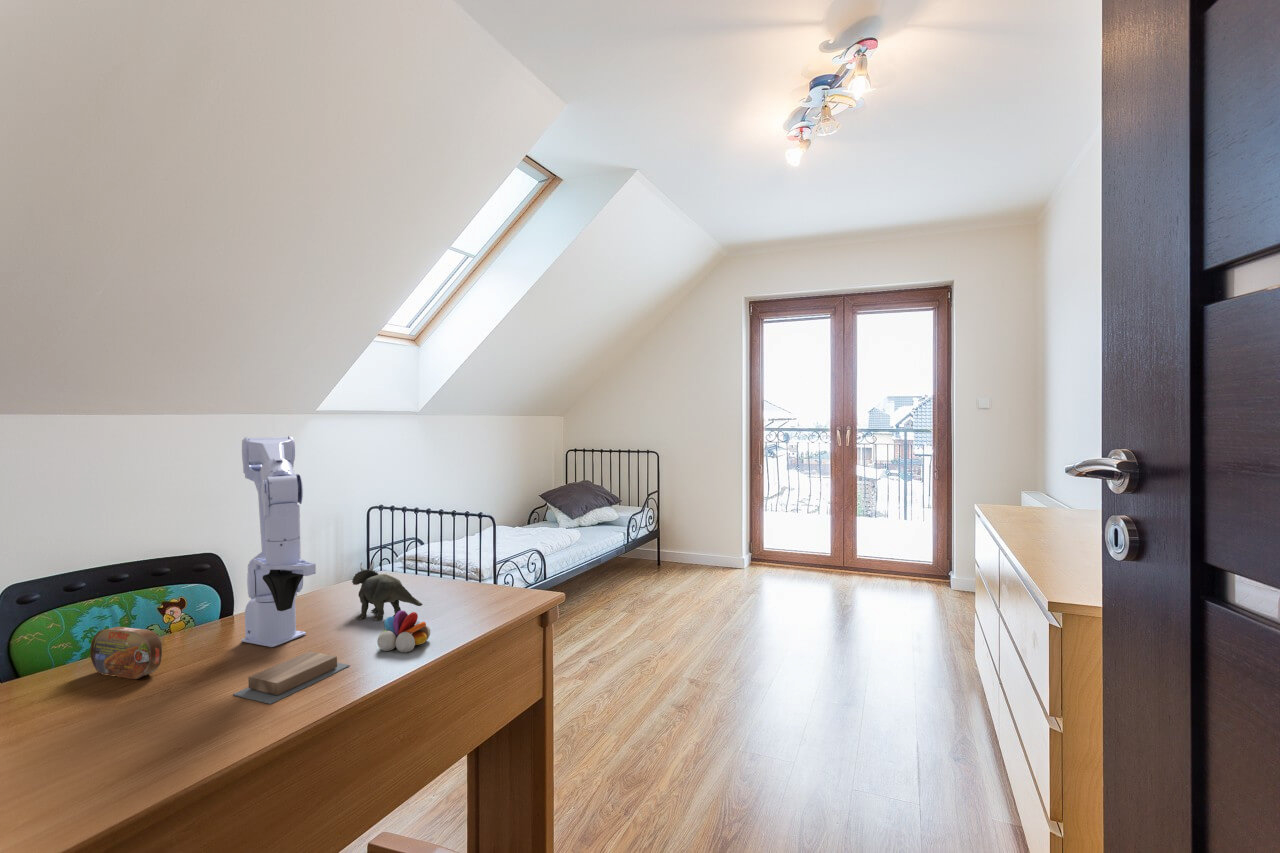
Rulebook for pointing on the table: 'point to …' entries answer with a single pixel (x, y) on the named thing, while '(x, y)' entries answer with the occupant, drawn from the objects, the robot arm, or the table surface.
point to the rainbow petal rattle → (403, 632)
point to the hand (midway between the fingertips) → (284, 609)
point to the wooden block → (292, 672)
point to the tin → (126, 652)
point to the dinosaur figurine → (380, 592)
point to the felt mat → (273, 698)
